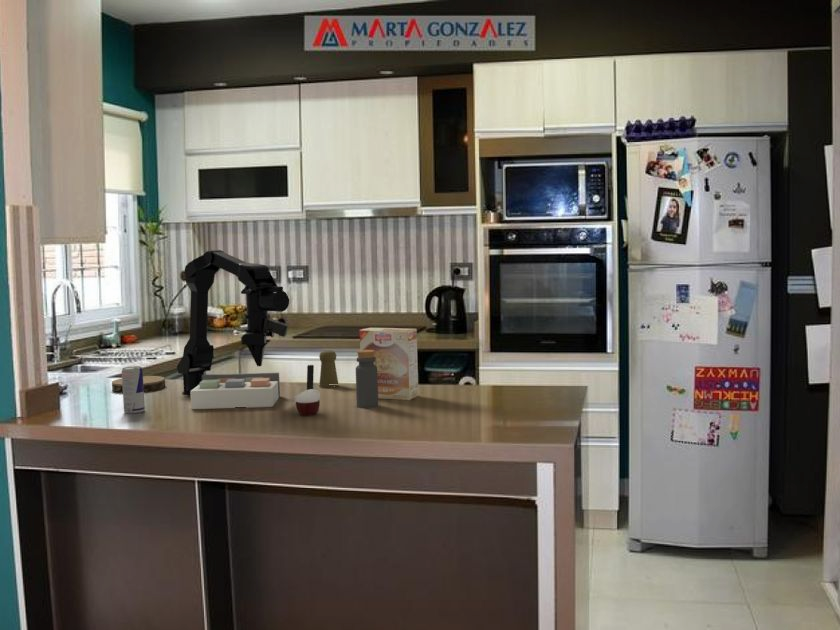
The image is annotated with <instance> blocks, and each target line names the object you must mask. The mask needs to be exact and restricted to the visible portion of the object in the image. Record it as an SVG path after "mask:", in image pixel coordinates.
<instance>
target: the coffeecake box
mask: <svg viewBox="0 0 840 630" xmlns="http://www.w3.org/2000/svg"><path fill="white" fill-rule="evenodd" d="M359 346H360V347H359V350H374V351H375V352H374V357H376V361H374V365H375V366H377V375H378V400H379V399H380V400H381V399H384V400H399V401H411V400H412V399H414V398H417V397H419V371H418V365H419V364H418V331H417V328H400V327H398V328H397V327H396V328H395V327H367V328H362V329H359Z"/></svg>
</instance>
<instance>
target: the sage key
mask: <svg viewBox="0 0 840 630" xmlns="http://www.w3.org/2000/svg"><path fill="white" fill-rule="evenodd" d="M219 387H220V379H217V380H203V381H201V382H200V389H208V388H219Z"/></svg>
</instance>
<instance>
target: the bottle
mask: <svg viewBox="0 0 840 630" xmlns="http://www.w3.org/2000/svg"><path fill="white" fill-rule="evenodd" d="M356 352H357V356H358V357H356V362H357V363H358V365H357V366H356V367H355V391H356V392H355V393H356V398H355V399H356V407H357V408H361V409H368V408H369V409H370V408H372V409H373V408H376V407H378V406H379V399H378V375H377V366H375V365H374V361H376V357H374V352H375V351H374V350H360V349H359V350H357V351H356Z"/></svg>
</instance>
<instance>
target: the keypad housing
mask: <svg viewBox="0 0 840 630" xmlns="http://www.w3.org/2000/svg"><path fill="white" fill-rule="evenodd" d="M253 378H270V386H269V387H251V380H252V379H253ZM217 379H220V387H219V388H208V389H200V384H199V385H198V386H196V387H195V388H194V389H192V390H191V391H190V409H191V410H206V409H207V410H209V409H210V410H212V409H236V408H235V407H246V408H268V407H269V408H271V407H272V408H273V406H275V404H276V403H277V401H278V400H279V398H280V397H281V388H280V384H281V383H280V372H256V373H255V372H253V373H252V372H251V373H250V372H249V373H219V374H218V373H213V374H206V375H202V381H203V380H217ZM228 379H245V387H240V388H225V382H226V381H227V380H228Z"/></svg>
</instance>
